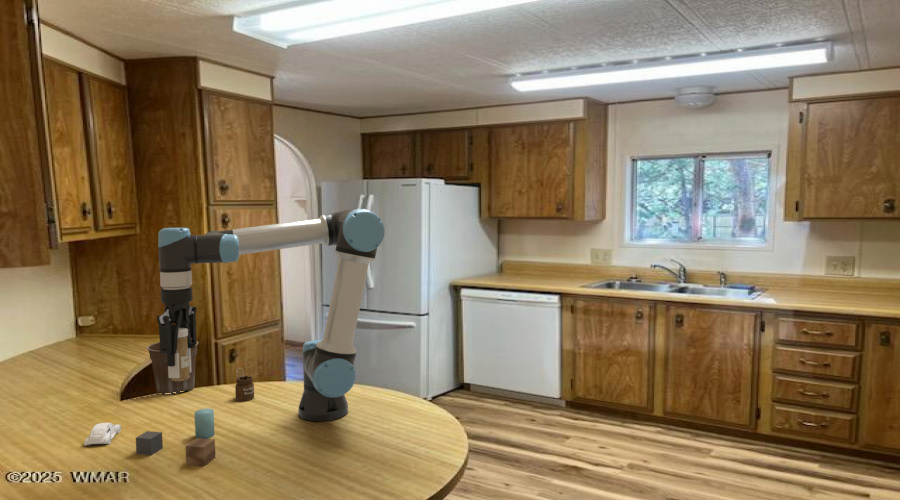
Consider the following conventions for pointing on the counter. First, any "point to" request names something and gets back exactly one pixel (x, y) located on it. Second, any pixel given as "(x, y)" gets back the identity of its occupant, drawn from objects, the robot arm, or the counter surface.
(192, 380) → the plant pot
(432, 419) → the counter surface
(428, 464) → the counter surface
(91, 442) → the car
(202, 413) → the teal cylinder
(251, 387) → the utensil holder
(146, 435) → the black plastic cube
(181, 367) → the sprinkles bottle
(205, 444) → the walnut block
